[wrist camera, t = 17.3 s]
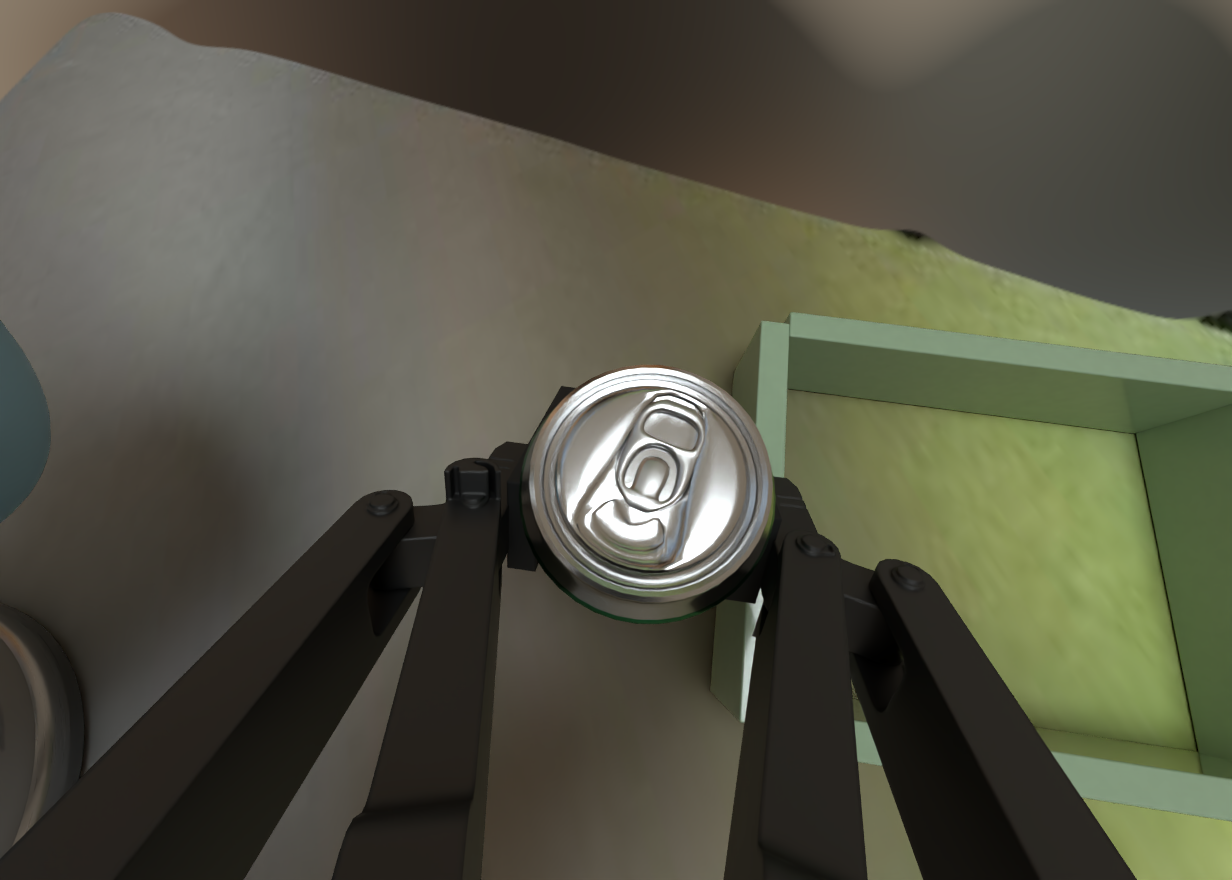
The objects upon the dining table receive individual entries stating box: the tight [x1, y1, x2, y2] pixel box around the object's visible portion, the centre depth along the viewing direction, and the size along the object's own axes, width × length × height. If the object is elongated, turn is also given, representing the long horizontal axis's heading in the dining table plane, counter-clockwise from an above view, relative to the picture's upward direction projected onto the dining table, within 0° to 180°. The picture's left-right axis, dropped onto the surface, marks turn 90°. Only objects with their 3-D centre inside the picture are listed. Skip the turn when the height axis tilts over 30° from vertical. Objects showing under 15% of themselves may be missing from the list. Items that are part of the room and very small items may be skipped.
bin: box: [710, 312, 1232, 822], centre depth 20 cm, size 21×16×5 cm
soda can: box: [519, 365, 776, 624], centre depth 14 cm, size 5×5×12 cm
